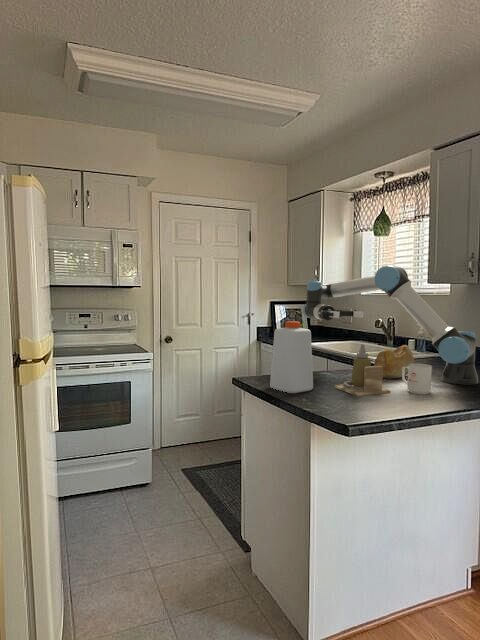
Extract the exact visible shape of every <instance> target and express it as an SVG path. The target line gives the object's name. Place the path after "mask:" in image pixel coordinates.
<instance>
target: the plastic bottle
mask: <svg viewBox="0 0 480 640" xmlns="http://www.w3.org/2000/svg"><path fill="white" fill-rule="evenodd" d="M284 324H285V326H284V327H278V328H275V329H274V333H273V346H272V355H271V366H270V367H271V369H270V378H269V386H270V388H271V389H272V388H273V389H272V390H275V389H276V390H275V391H278V390H279V391H278V392H282V391H283V392H282V393H285V392H287V393H286V394H299V393H305V392H309V391H312V390H313V388H314V373H313V371H314V370H313V354H312V353H313V351H312V350H313V348H312V332H311V330H310V329H309V328H303V327H301V322H300V321H296V320H295V321H294V320H292V321H291V320H288V321H287V320H286V321H285V323H284Z"/></svg>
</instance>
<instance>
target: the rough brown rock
mask: <svg viewBox="0 0 480 640" xmlns="http://www.w3.org/2000/svg"><path fill="white" fill-rule="evenodd" d="M409 364H415V358H414V354H413V352H412V350H411V349H410V347H409V345H407V344H402V345H401V346H399V347H396V349H395V350H391V349H385V350H381V351H379V352H378V354H377V356H376V357H375V359H374V363H373V366H383V379H385V380H390V379H399V378H402V367H408V365H409ZM405 376H408V368H405Z"/></svg>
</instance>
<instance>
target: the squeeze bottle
mask: <svg viewBox="0 0 480 640" xmlns="http://www.w3.org/2000/svg"><path fill="white" fill-rule="evenodd" d="M366 351H367V350H366V347H365V344H364V343H362V344H360V348H359V352H356V357H355V358H354V360H353V366H352V371H351V372H352V373H351V381H353V385H354V386H356V387H364V369H365V367H370V366H372V361H371V359H370V358H369V353H368V352H366Z"/></svg>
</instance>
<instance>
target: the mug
mask: <svg viewBox="0 0 480 640" xmlns="http://www.w3.org/2000/svg"><path fill="white" fill-rule="evenodd" d="M405 368H408V374H407V380H406V377H405V376H406V375H405ZM432 371H433V366H432V365H430V364H424V363H414V364H409V365H408V367H402V377H401V379H402V381H403V383H405V385H406V386H407V390H408V392H409V393H411V394H414V395H428V394H429V393H431V391H432V375H433V372H432Z"/></svg>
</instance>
